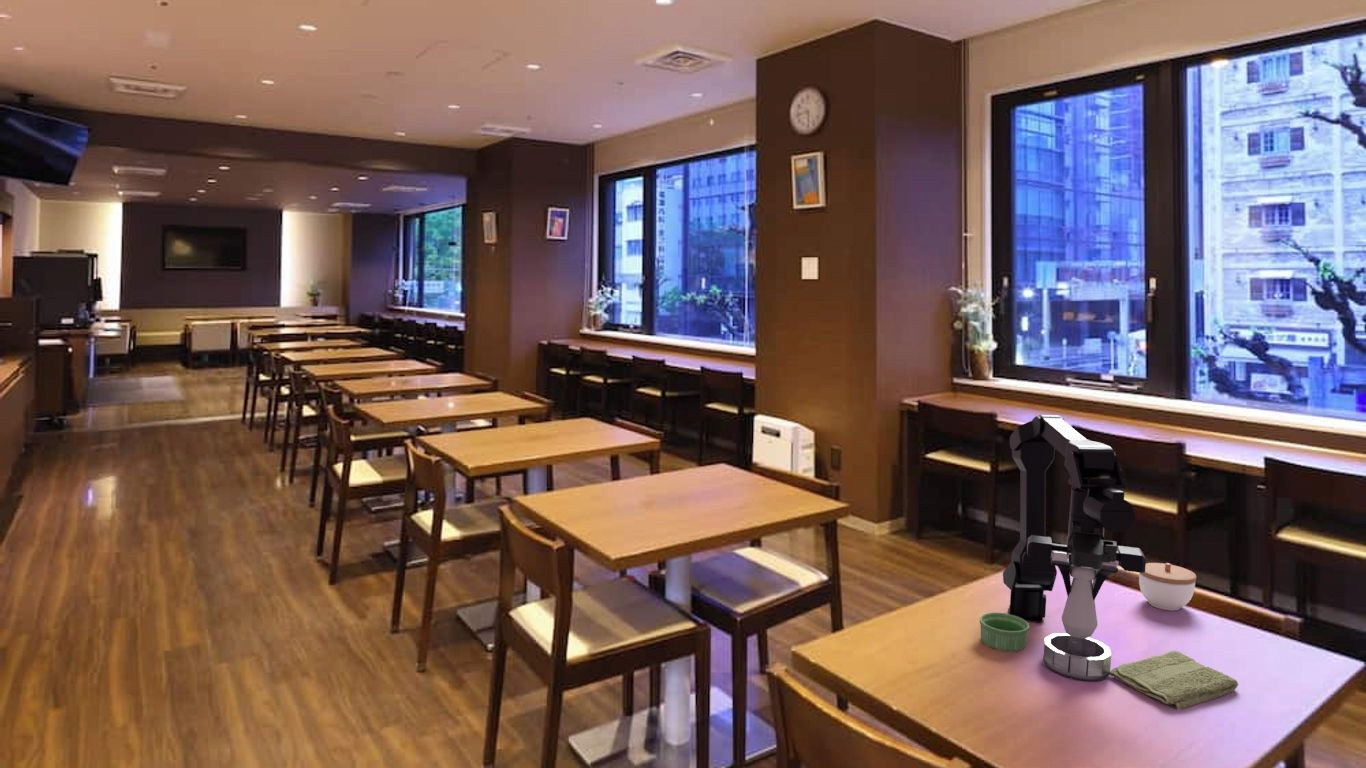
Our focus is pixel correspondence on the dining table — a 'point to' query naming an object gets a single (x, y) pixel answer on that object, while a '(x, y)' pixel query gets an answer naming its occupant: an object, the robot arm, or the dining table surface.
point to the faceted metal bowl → (1077, 657)
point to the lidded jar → (1167, 585)
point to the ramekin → (1003, 631)
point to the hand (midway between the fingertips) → (1080, 599)
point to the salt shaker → (1080, 604)
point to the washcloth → (1175, 679)
